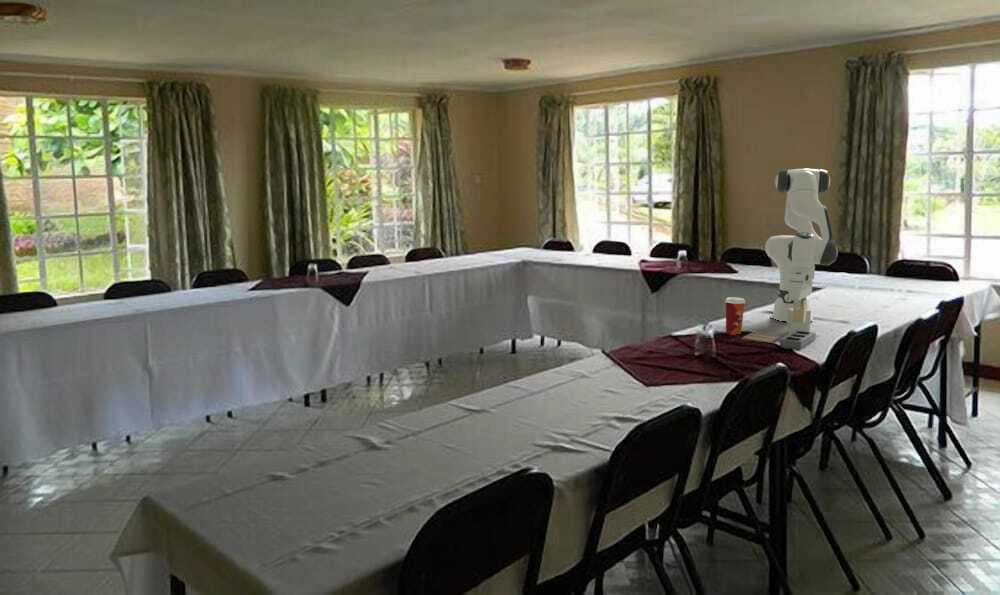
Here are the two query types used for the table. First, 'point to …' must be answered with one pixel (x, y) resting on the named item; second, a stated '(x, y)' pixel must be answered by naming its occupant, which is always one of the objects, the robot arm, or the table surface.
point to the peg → (800, 312)
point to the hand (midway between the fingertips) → (799, 308)
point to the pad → (760, 338)
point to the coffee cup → (734, 315)
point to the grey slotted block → (797, 339)
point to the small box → (795, 325)
